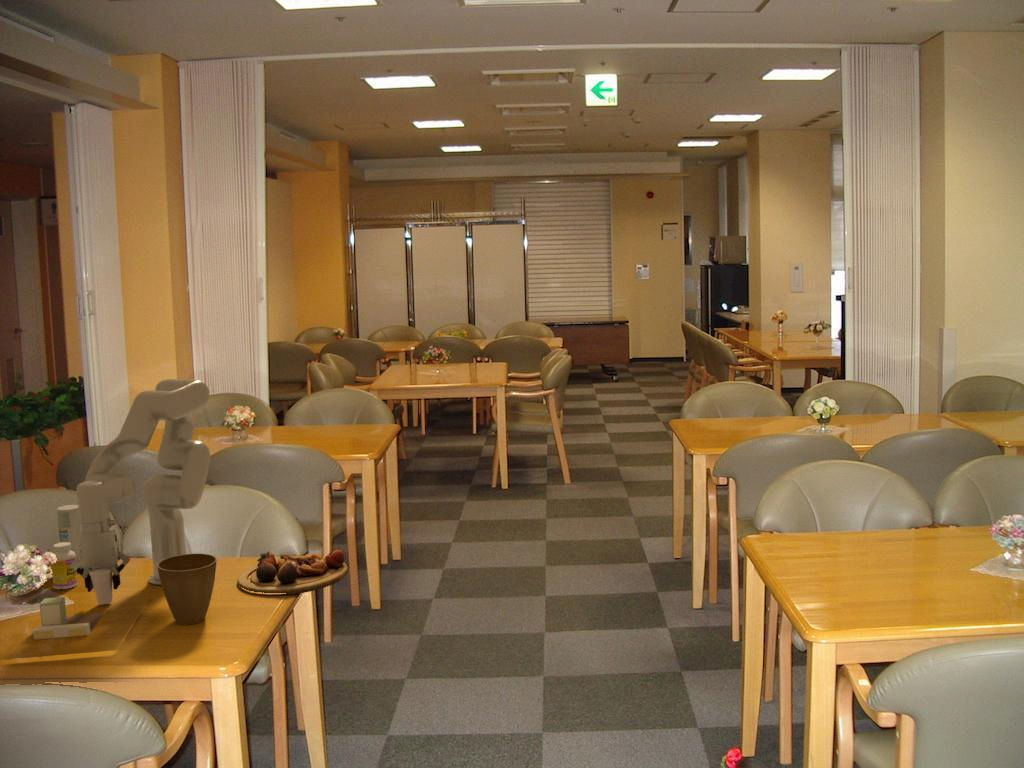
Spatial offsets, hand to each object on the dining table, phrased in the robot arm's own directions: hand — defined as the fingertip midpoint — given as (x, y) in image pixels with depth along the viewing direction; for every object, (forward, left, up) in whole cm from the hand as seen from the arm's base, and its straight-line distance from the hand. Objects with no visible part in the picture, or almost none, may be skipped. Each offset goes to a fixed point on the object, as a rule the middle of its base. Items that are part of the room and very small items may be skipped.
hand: (103, 588), depth 278 cm
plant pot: (-25, +15, -6) cm, 30 cm away
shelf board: (+5, +15, -6) cm, 17 cm away
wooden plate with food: (-50, -14, -6) cm, 52 cm away
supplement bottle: (+17, -22, -6) cm, 28 cm away
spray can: (+19, -38, -6) cm, 43 cm away
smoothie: (0, 0, -4) cm, 4 cm away
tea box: (+9, +14, -5) cm, 18 cm away
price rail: (+5, +22, -6) cm, 23 cm away
